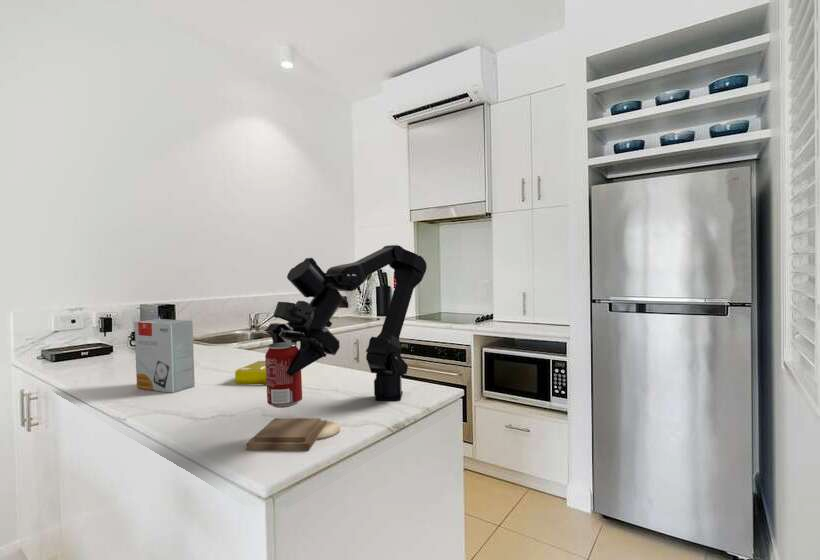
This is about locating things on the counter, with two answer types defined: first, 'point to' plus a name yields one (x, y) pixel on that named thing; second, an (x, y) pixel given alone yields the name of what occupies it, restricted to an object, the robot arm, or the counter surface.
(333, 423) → the coaster
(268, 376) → the soda can
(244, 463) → the counter surface
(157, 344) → the hard drive box
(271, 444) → the brown flat square block
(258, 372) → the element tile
